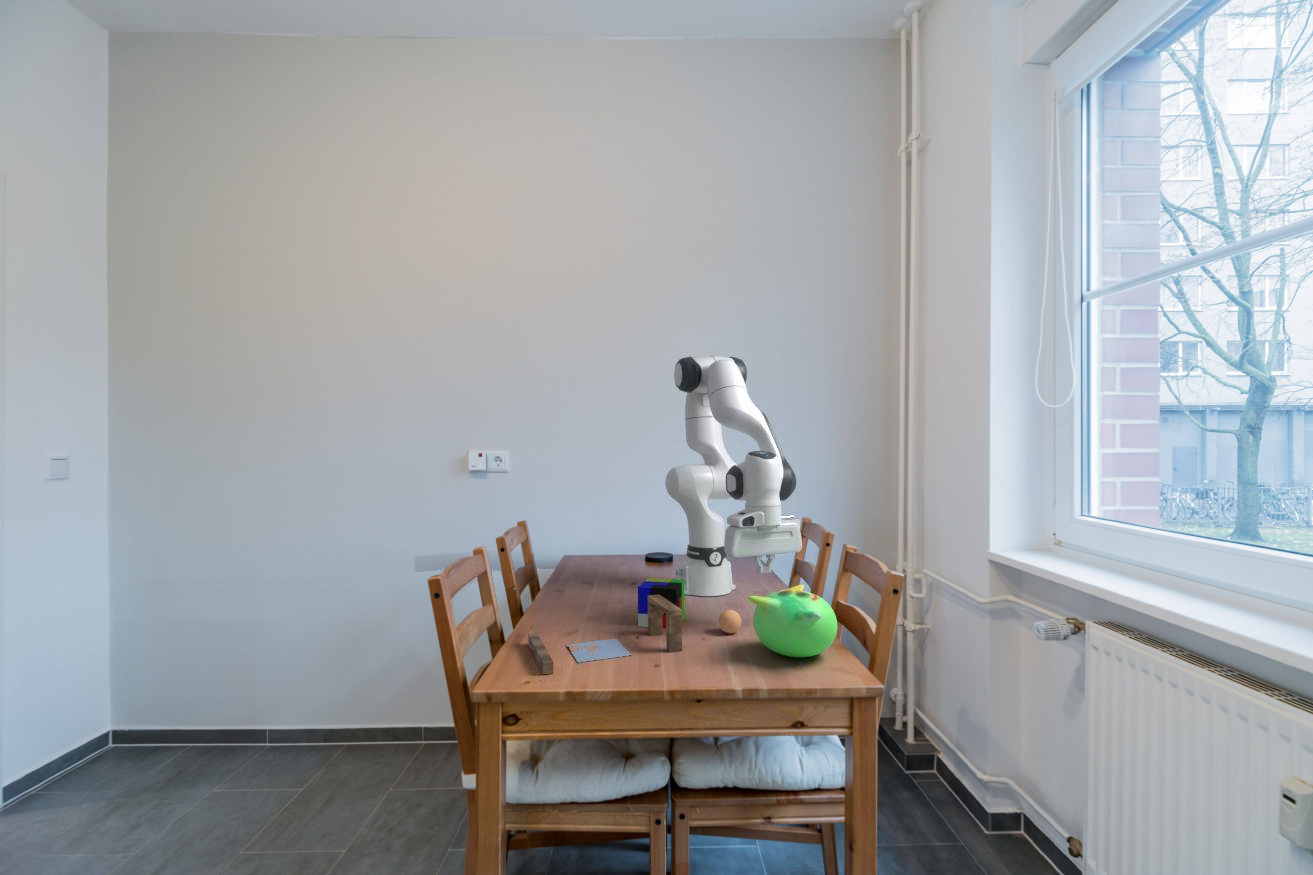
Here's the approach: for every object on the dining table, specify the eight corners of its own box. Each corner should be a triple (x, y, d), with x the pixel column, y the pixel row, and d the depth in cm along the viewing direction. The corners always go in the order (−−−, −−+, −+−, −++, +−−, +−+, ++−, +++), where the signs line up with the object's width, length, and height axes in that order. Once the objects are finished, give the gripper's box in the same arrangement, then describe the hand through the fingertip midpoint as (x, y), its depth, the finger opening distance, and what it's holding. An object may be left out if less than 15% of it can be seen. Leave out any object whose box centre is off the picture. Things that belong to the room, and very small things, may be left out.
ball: (714, 630, 156) (714, 608, 156) (735, 628, 158) (734, 606, 158) (724, 637, 151) (724, 614, 151) (745, 634, 153) (745, 611, 153)
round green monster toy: (845, 649, 142) (845, 583, 142) (824, 675, 127) (823, 601, 127) (768, 637, 151) (767, 575, 151) (740, 660, 136) (739, 591, 136)
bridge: (669, 652, 142) (669, 610, 142) (648, 633, 155) (647, 595, 155) (682, 650, 143) (681, 609, 143) (659, 631, 156) (659, 594, 156)
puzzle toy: (638, 626, 161) (637, 587, 161) (648, 615, 171) (647, 578, 171) (676, 629, 159) (676, 588, 159) (684, 617, 168) (684, 579, 168)
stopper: (528, 644, 148) (528, 633, 148) (537, 643, 149) (536, 632, 149) (543, 675, 129) (543, 662, 129) (553, 673, 130) (553, 661, 130)
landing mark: (566, 645, 147) (566, 644, 147) (616, 639, 151) (616, 638, 151) (577, 663, 136) (577, 662, 136) (631, 655, 140) (631, 654, 140)
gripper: (792, 513, 164) (793, 566, 164) (720, 517, 157) (721, 573, 157) (806, 515, 158) (807, 571, 158) (732, 520, 151) (733, 578, 151)
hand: (764, 572), depth 158 cm, fingers closed
